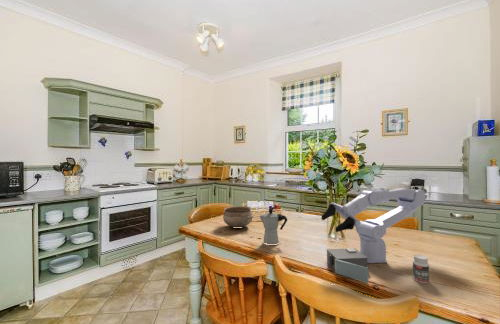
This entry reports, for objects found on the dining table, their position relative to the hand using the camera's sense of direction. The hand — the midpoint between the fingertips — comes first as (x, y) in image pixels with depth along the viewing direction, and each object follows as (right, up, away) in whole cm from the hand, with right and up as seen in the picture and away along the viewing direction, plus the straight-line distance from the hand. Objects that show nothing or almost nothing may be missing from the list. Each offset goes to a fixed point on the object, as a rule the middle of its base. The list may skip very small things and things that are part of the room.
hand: (328, 224), depth 98 cm
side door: (+5, -17, -9) cm, 20 cm away
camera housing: (+7, -17, 0) cm, 19 cm away
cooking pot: (-39, -18, +60) cm, 74 cm away
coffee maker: (-20, -18, +29) cm, 39 cm away
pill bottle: (+29, -17, -12) cm, 35 cm away
